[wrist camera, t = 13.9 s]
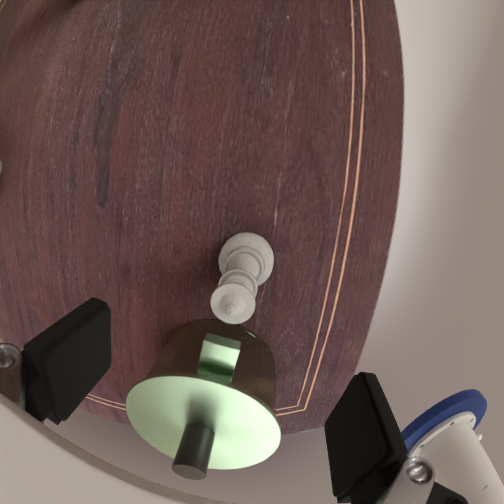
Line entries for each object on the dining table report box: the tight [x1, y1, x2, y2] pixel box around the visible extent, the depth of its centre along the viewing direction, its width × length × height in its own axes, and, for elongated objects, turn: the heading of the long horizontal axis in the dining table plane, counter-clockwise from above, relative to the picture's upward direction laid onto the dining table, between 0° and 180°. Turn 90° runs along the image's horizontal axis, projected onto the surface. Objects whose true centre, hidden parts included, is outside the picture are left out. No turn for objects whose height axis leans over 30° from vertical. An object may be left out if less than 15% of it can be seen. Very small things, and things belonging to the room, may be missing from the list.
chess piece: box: [211, 232, 274, 324], centre depth 18 cm, size 4×4×10 cm
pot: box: [146, 319, 276, 415], centre depth 22 cm, size 11×17×8 cm
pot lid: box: [126, 372, 281, 480], centre depth 16 cm, size 12×12×5 cm
